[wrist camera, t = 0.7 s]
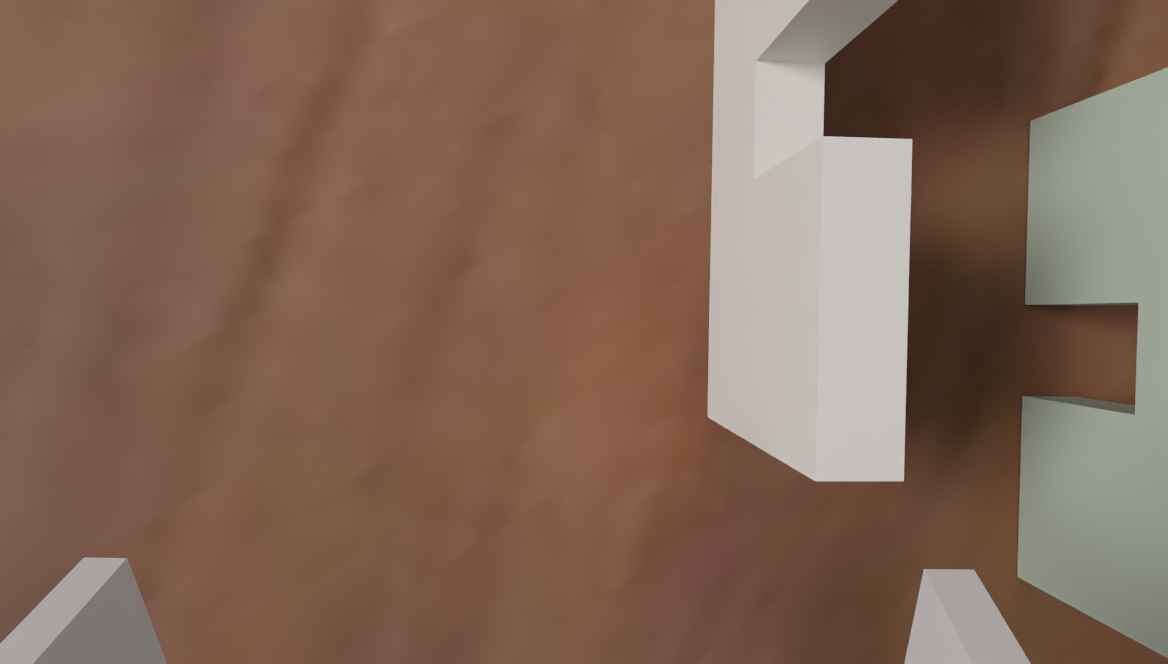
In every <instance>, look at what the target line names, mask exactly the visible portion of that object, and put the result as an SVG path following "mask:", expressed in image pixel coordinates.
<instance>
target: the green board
mask: <svg viewBox="0 0 1168 664" xmlns="http://www.w3.org/2000/svg"><path fill="white" fill-rule="evenodd" d="M1025 305H1066V306H1089V305H1138V334H1137V365H1136V396H1135V405H1128V404H1121V403H1115V402H1108V401H1102V400H1095V399H1088V398H1082V397H1075V396H1022V427H1021V462H1020V497H1019V532H1018V567H1017V577H1019V578H1020V579H1022V580H1024V581H1026V582H1028V583H1030V584H1031V585H1033V586H1035V587H1037V588H1039V589H1041V590H1043V591H1044V592H1046V593H1048V594H1050V595H1052V596H1054V597H1055V598H1057V599H1059V600H1061V601H1063V602H1065V603H1067V604H1068V605H1070V606H1072V607H1074V608H1076V609H1078V610H1080V611H1081V612H1083V613H1085V614H1087V615H1089V616H1091V617H1092V618H1094V619H1096V620H1098V621H1100V622H1102V623H1104V624H1105V625H1107V626H1109V627H1111V628H1113V629H1115V630H1116V631H1118V632H1120V633H1122V634H1124V635H1126V636H1128V637H1129V638H1131V639H1133V640H1135V641H1137V642H1139V643H1140V644H1142V645H1144V646H1146V647H1148V648H1150V649H1152V650H1153V651H1155V652H1157V653H1159V654H1161V655H1163V656H1164V657H1166V658H1168V68H1165V69H1163V70H1160V71H1157V72H1155V73H1152V74H1150V75H1147V76H1145V77H1142V78H1139V79H1137V80H1134V81H1132V82H1129V83H1127V84H1124V85H1121V86H1119V87H1116V88H1114V89H1111V90H1109V91H1106V92H1103V93H1101V94H1098V95H1096V96H1093V97H1090V98H1088V99H1085V100H1083V101H1080V102H1078V103H1075V104H1072V105H1070V106H1067V107H1065V108H1062V109H1060V110H1057V111H1054V112H1052V113H1049V114H1047V115H1044V116H1042V117H1039V118H1036V119H1034V120H1031V121H1030V148H1029V183H1028V218H1027V253H1026V288H1025Z"/></svg>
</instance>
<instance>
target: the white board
mask: <svg viewBox="0 0 1168 664" xmlns="http://www.w3.org/2000/svg"><path fill="white" fill-rule="evenodd" d="M897 1H898V0H715V38H714V91H713V145H712V198H711V252H710V306H709V359H708V413H707V417H708V418H710V419H712V420H713V421H715V422H717V423H718V424H720V425H722V426H723V427H725V428H727V429H728V430H730V431H732V432H733V433H735V434H737V435H738V436H740V437H742V438H743V439H745V440H747V441H748V442H750V443H752V444H754V445H755V446H757V447H759V448H760V449H762V450H764V451H765V452H767V453H769V454H770V455H772V456H774V457H775V458H777V459H779V460H780V461H782V462H784V463H785V464H787V465H789V466H790V467H792V468H794V469H796V470H797V471H799V472H801V473H802V474H804V475H806V476H807V477H809V478H811V479H812V480H814V481H904V455H905V414H906V374H907V334H908V294H909V254H910V214H911V174H912V139H895V138H864V137H833V136H823V128H824V83H825V63H826V62H827V61H828V60H830V59H831V58H832V57H833V56H834V55H835V54H837V53H838V52H839V51H840V50H841V49H842V48H843V47H845V46H846V45H847V44H848V43H849V42H850V41H852V40H853V39H854V38H855V37H856V36H857V35H858V34H860V33H861V32H862V31H863V30H864V29H865V28H867V27H868V26H869V25H870V24H871V23H872V22H874V21H875V20H876V19H877V18H878V17H879V16H880V15H882V14H883V13H884V12H885V11H886V10H887V9H889V8H890V7H891V6H892V5H893V4H894V3H895V2H897Z"/></svg>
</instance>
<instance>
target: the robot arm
mask: <svg viewBox="0 0 1168 664" xmlns="http://www.w3.org/2000/svg"><path fill="white" fill-rule="evenodd" d="M0 664H167V663H166V660H165V658H164V655H163V652H162V650H161V647H160V644H159V642H158V639H157V636H156V634H155V631H154V629H153V626H152V623H151V621H150V618H149V615H148V613H147V610H146V607H145V605H144V602H143V599H142V597H141V594H140V591H139V589H138V586H137V583H136V581H135V578H134V575H133V573H132V570H131V567H130V565H129V562H128V559H127V558H83V559H82V560H81V561H80V562H79V563H78V564H77V565H76V566H75V567H74V568H73V569H72V570H71V571H70V572H69V574H68V575H67V576H66V577H65V578H64V579H63V580H62V581H61V582H60V583H59V584H58V585H57V586H56V587H55V588H54V589H53V590H52V591H51V592H50V593H49V594H48V595H47V596H46V597H45V598H44V599H43V600H42V601H41V602H40V603H39V604H38V605H37V606H36V608H35V609H34V610H33V611H32V612H31V613H30V614H29V615H28V616H27V617H26V618H25V619H24V620H23V621H22V622H21V623H20V624H19V625H18V626H17V627H16V628H15V629H14V630H13V631H12V632H11V633H10V634H9V635H8V636H7V637H6V638H5V639H4V640H3V641H2V643H1V644H0ZM904 664H1031V663H1030V662H1029V660H1028V659H1027V657H1026V655H1025V654H1024V652H1023V650H1022V649H1021V647H1020V645H1019V644H1018V642H1017V640H1016V639H1015V637H1014V635H1013V634H1012V632H1011V630H1010V629H1009V627H1008V625H1007V624H1006V622H1005V620H1004V619H1003V617H1002V615H1001V614H1000V612H999V610H998V609H997V607H996V605H995V604H994V602H993V600H992V599H991V597H990V595H989V594H988V592H987V590H986V589H985V587H984V585H983V584H982V582H981V580H980V579H979V577H978V575H977V574H976V572H975V570H955V569H924V571H923V576H922V581H921V586H920V591H919V595H918V600H917V605H916V610H915V615H914V619H913V624H912V629H911V634H910V639H909V644H908V648H907V653H906V658H905V663H904Z"/></svg>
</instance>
